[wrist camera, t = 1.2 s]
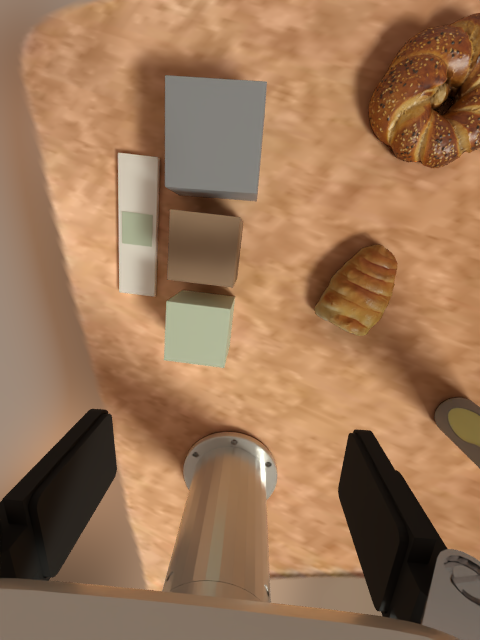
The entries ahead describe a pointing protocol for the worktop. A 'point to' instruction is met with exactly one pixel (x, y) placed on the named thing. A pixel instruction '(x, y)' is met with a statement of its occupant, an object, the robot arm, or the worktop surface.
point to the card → (138, 223)
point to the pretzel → (432, 95)
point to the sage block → (198, 328)
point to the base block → (213, 136)
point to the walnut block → (204, 248)
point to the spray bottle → (461, 425)
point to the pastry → (359, 291)
